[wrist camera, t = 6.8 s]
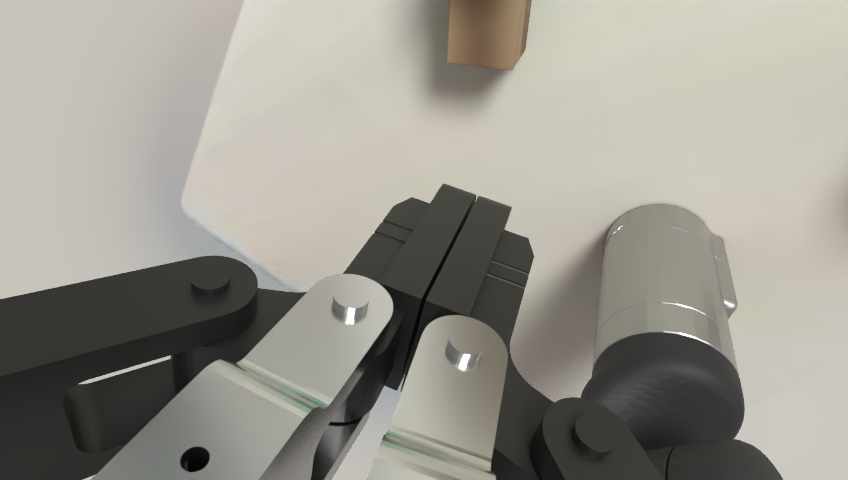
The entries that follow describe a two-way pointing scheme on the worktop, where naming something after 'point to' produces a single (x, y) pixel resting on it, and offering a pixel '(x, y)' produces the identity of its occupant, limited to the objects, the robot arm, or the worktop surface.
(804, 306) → the worktop surface
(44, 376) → the robot arm
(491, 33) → the walnut block
